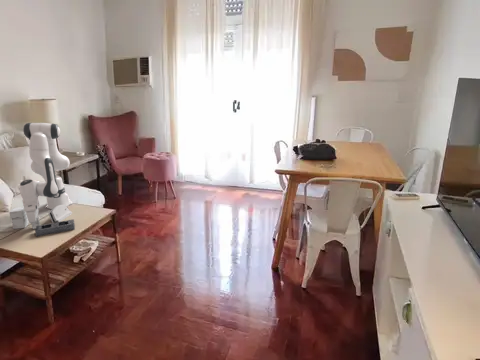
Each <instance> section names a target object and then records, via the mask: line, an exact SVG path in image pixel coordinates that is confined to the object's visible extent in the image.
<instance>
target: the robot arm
mask: <svg viewBox="0 0 480 360" xmlns="http://www.w3.org/2000/svg"><path fill="white" fill-rule="evenodd" d="M22 133H23V135H24V137H25V138H27V139H28V140H29V146H28V147H29V157H30V159H31V161H32V162H31V163H30V168H31V170H32V172H34V173H35V174H37V175H39V176H40V177H41V178H43V179H44V181H41V180H40V181H38V180H37V181H36V180H33V179H24V180H23V181H21V182H20V183H19V193H20V196H21V198H22V204H23V207H24V211H25V212H26V215H27V218H28V222H29V224H31V223H33V225H34V226H36V225H37V223H36V219H37V216H38V217H39V207H40V201H39V197H46V203H47V204H48V206H47V204H46V206H47V208H46V209H50V210H52V209H53V208H54V207H56V206H59V205H64V204H65V205H66V206H67V207H68V206H70V205H73V201H72V200H71V199H70V197H69V194H68V192H67V193H66V188H65V186H64V183H63V178H62V177H61V176H60V175H56V171H57V172H58V171H59V172H60V171H63V170H66V169H68V168H69V167H70V165H71V162H70V159H69V157H68V156H66V155H64V154H62V153H61V152H60V151H59V149H58V146H57V139H58V138H59V137H60V136H61V129H60V126H59V125H58V124H56V123H49V122H28V123H27V122H26V123H25V124H24V126H23V132H22Z"/></svg>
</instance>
